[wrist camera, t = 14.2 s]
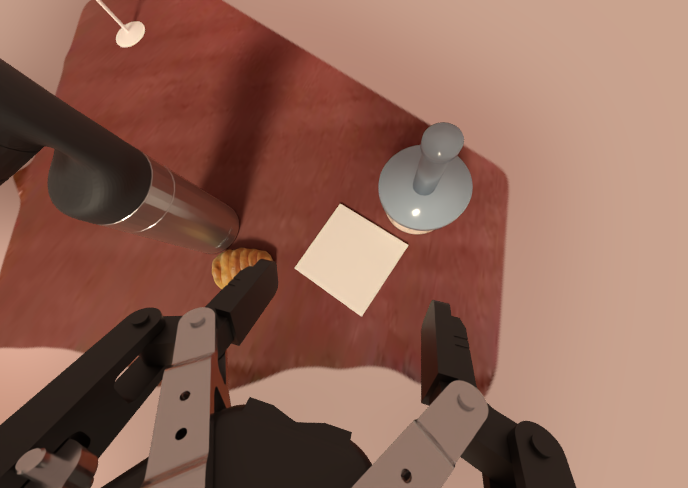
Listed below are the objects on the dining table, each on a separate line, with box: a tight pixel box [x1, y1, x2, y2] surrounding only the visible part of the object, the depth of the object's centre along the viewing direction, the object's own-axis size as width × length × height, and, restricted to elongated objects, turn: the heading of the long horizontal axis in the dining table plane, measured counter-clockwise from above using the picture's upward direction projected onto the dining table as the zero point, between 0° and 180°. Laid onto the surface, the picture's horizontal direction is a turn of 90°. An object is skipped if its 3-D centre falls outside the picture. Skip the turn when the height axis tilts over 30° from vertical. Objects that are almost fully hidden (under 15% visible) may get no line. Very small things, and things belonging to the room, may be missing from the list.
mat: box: [295, 204, 408, 317], centre depth 39 cm, size 13×13×1 cm
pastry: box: [212, 248, 273, 289], centre depth 40 cm, size 9×7×4 cm
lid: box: [379, 122, 472, 231], centre depth 29 cm, size 12×12×11 cm
